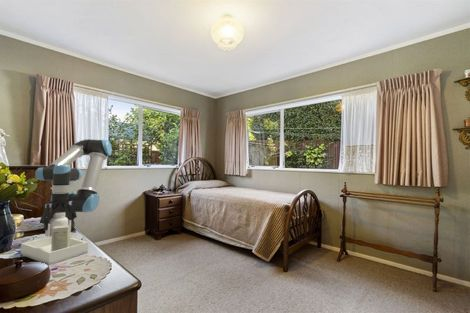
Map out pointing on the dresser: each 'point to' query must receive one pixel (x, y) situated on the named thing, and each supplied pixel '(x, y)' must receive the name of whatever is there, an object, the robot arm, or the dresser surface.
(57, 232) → the skincare box
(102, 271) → the dresser surface
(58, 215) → the pill bottle
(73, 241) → the tray
